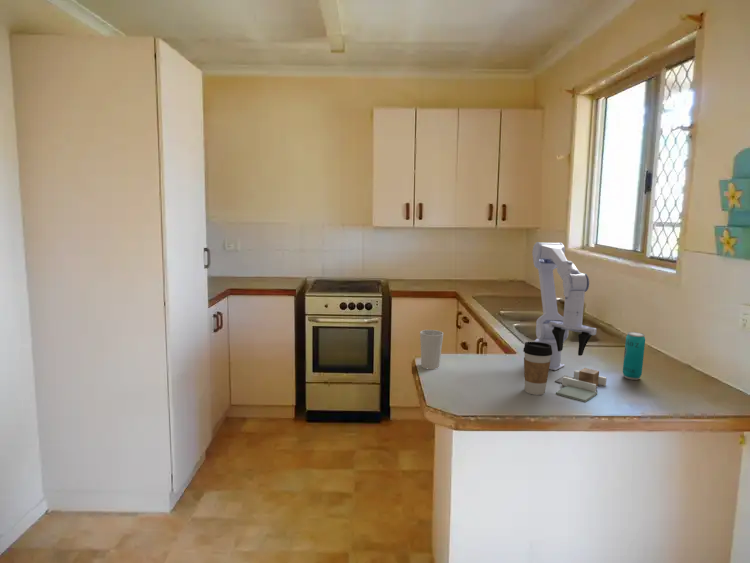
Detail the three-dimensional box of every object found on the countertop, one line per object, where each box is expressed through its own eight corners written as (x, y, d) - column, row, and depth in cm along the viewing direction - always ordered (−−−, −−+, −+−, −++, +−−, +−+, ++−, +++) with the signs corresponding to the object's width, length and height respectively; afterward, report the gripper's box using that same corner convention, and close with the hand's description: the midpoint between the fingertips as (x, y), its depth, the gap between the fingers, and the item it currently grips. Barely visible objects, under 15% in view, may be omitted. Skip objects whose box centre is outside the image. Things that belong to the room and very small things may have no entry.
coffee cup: (514, 388, 166) (518, 341, 164) (537, 385, 169) (541, 339, 167) (531, 397, 159) (535, 348, 156) (555, 394, 162) (559, 346, 159)
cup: (446, 368, 184) (447, 334, 182) (425, 371, 181) (426, 336, 179) (435, 362, 191) (436, 329, 190) (414, 364, 188) (416, 330, 187)
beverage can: (624, 373, 183) (629, 330, 181) (643, 377, 180) (647, 333, 177) (620, 377, 179) (624, 333, 177) (638, 381, 175) (643, 336, 173)
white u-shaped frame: (553, 382, 173) (553, 375, 172) (566, 375, 180) (566, 368, 180) (594, 392, 164) (595, 385, 164) (605, 385, 171) (606, 377, 171)
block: (578, 386, 170) (579, 370, 169) (583, 382, 173) (584, 367, 173) (592, 389, 167) (593, 374, 166) (597, 386, 170) (599, 371, 170)
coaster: (555, 394, 162) (555, 392, 162) (567, 386, 169) (568, 385, 169) (585, 402, 156) (585, 400, 156) (597, 394, 163) (597, 392, 163)
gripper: (546, 309, 173) (543, 350, 175) (591, 316, 163) (588, 360, 165) (555, 306, 178) (552, 346, 180) (600, 313, 168) (596, 355, 170)
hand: (570, 352), depth 173 cm, fingers open, 6 cm apart
